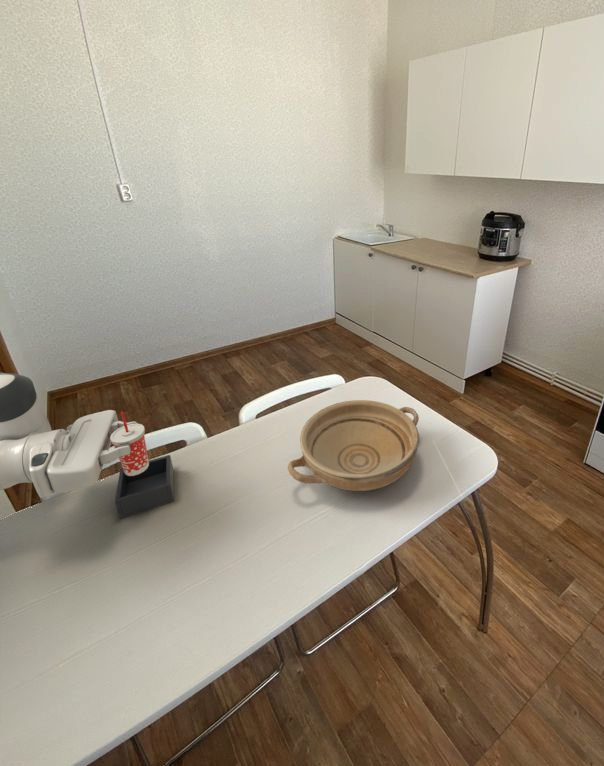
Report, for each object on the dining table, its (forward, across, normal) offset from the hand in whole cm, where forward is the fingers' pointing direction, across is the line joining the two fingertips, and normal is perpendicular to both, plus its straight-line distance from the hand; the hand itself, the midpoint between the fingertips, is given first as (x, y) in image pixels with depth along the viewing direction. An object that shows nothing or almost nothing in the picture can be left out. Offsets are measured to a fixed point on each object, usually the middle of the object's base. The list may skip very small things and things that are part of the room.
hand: (133, 436), depth 79 cm
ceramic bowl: (+47, +5, -19) cm, 51 cm away
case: (-1, -4, -19) cm, 19 cm away
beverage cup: (-1, 0, -8) cm, 8 cm away
